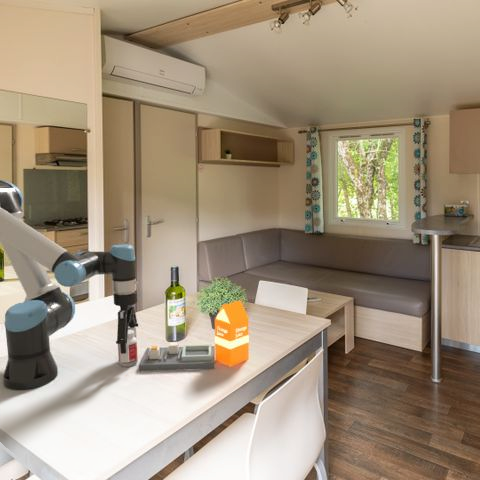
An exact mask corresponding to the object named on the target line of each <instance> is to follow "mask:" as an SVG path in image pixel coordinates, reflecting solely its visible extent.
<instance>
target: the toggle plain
mask: <svg viewBox="0 0 480 480" xmlns="http://www.w3.org/2000/svg"><path fill="white" fill-rule="evenodd" d="M168 347H169V354H178V351H179V347H180V346H179V342H177V341H175V342H174V341H173V342H171V341H170V342H169V344H168Z"/></svg>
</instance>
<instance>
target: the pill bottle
mask: <svg viewBox="0 0 480 480" xmlns="http://www.w3.org/2000/svg"><path fill="white" fill-rule="evenodd" d="M137 339H138V338H137ZM137 339H136V338H135V337H134V331H133V330H128V336H127V342H128V349H129V362H124V363H120V352H119V344H117V350H118V352H117V355H118V356H117V357H118V364H119V366H121V367H125V368H128V367H129V368H130V367H134V366H135V365H137V363H139V362H138V361H139V360H138V357H139V356H138V340H137ZM121 340H123V339H121Z"/></svg>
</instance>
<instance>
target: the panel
mask: <svg viewBox="0 0 480 480" xmlns="http://www.w3.org/2000/svg"><path fill="white" fill-rule="evenodd" d="M149 350H150V347H146V349H145V351H144V354H143V357H142V359H141V361H140V364H139V370H140V372H145V371H176V370H177V371H178V370H181V371H182V370H183V371H184V370H210V369H212V370H213V369H215V368H216V367H215V365H216V364H215V361H216V360H215V345H212V344H188V345H187V344H184V345H183V346H179V351H178V354H169V346H168V347H160V357H159V359H150V357H149Z"/></svg>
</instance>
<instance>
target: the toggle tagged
mask: <svg viewBox="0 0 480 480" xmlns="http://www.w3.org/2000/svg"><path fill="white" fill-rule="evenodd" d="M149 348H150V350H149V357H150V359H159V357H160V348H161V347H160V346H158V345H157V346H156V345H155V346H151V347H149Z"/></svg>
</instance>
